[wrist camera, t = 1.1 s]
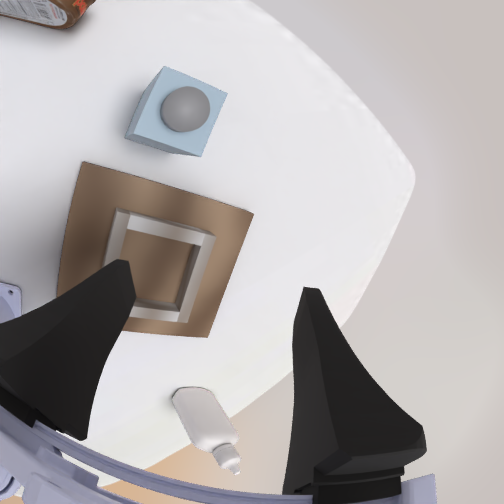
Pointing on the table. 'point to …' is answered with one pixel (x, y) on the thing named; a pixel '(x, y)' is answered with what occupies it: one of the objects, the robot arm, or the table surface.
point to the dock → (154, 247)
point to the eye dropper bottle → (208, 425)
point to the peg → (176, 113)
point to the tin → (46, 11)
